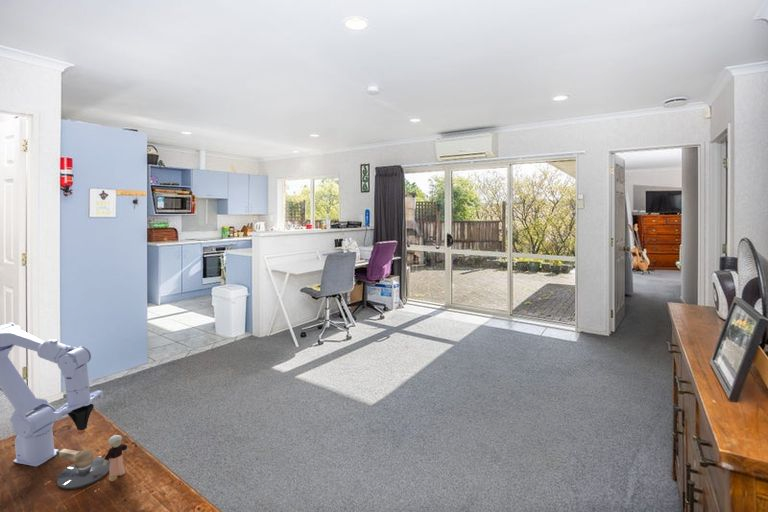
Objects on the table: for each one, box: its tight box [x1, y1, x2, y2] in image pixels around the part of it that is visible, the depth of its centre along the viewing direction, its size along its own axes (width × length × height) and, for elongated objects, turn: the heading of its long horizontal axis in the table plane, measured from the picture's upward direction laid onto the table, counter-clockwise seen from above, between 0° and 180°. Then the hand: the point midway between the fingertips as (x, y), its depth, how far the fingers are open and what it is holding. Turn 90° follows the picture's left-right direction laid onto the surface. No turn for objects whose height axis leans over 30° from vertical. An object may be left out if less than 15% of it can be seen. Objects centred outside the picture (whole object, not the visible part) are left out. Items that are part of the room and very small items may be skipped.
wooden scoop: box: [56, 447, 94, 468], centre depth 122 cm, size 11×4×3 cm, turn 77°
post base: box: [56, 457, 110, 490], centre depth 121 cm, size 13×13×3 cm
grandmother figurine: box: [102, 434, 130, 482], centre depth 121 cm, size 8×4×13 cm, turn 168°
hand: (82, 429), depth 127 cm, fingers closed
